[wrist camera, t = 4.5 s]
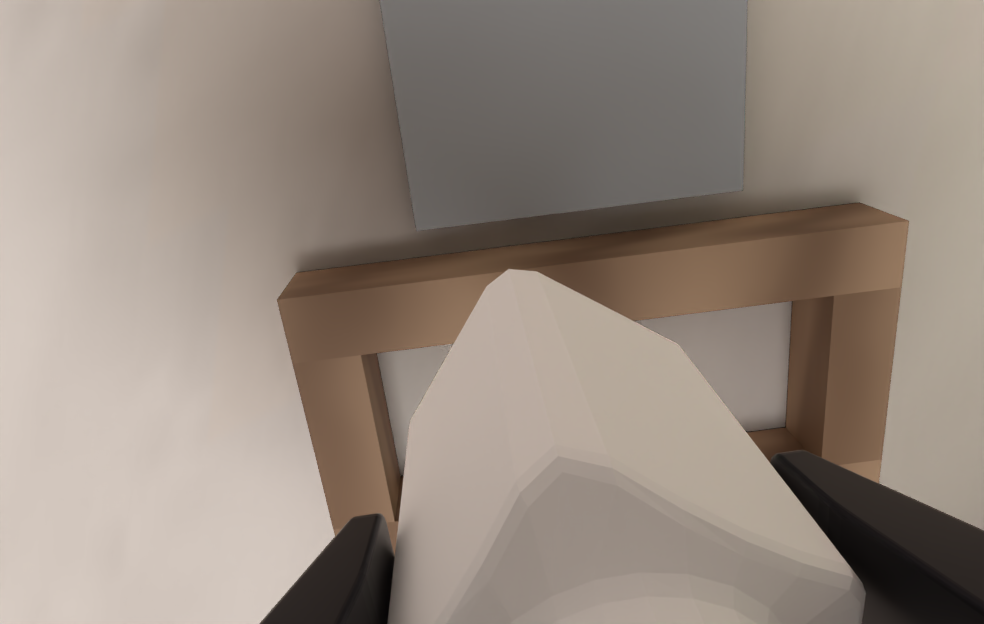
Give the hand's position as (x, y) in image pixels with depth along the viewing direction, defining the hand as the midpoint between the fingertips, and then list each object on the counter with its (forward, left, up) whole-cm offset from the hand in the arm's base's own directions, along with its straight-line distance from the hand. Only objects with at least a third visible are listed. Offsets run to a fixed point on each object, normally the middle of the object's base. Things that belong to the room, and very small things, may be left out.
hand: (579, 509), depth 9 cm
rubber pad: (-2, -5, -13) cm, 14 cm away
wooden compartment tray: (-2, +5, -13) cm, 14 cm away
